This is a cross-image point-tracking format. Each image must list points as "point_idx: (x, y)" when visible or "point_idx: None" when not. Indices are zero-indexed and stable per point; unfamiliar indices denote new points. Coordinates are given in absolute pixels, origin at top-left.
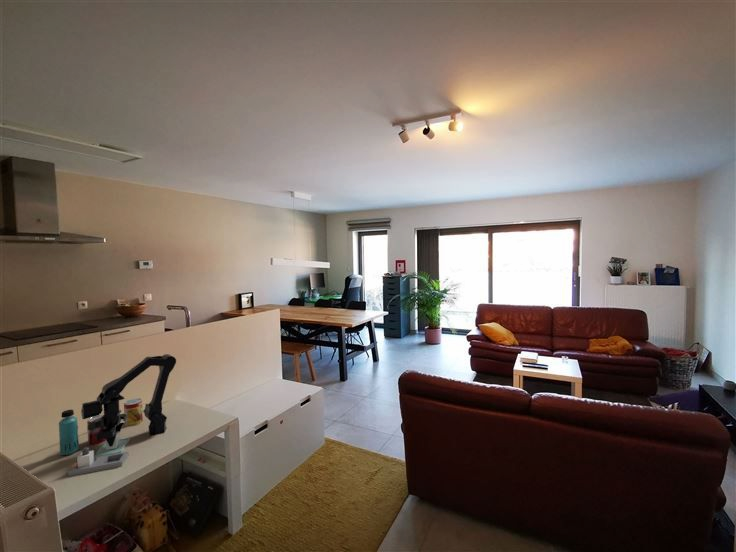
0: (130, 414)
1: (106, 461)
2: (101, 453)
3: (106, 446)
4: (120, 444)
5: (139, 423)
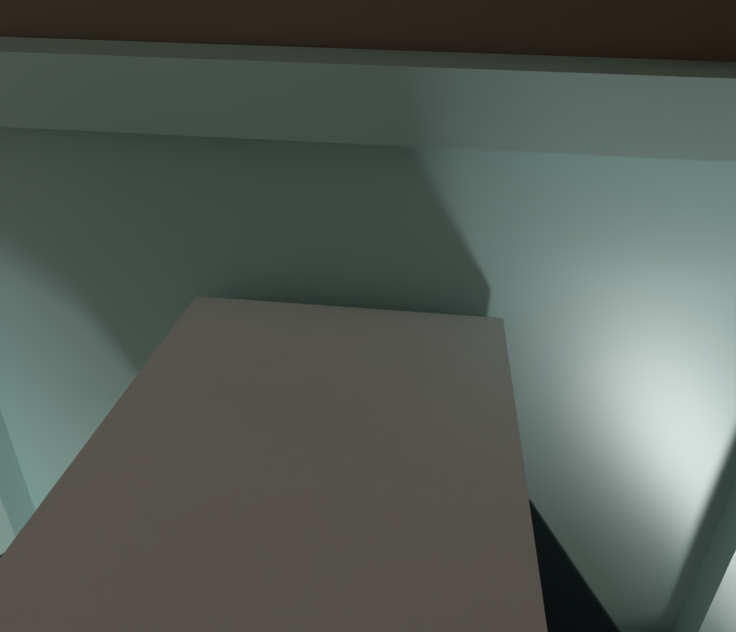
0: None
1: None
2: (56, 201)
3: (146, 379)
4: None
5: None
